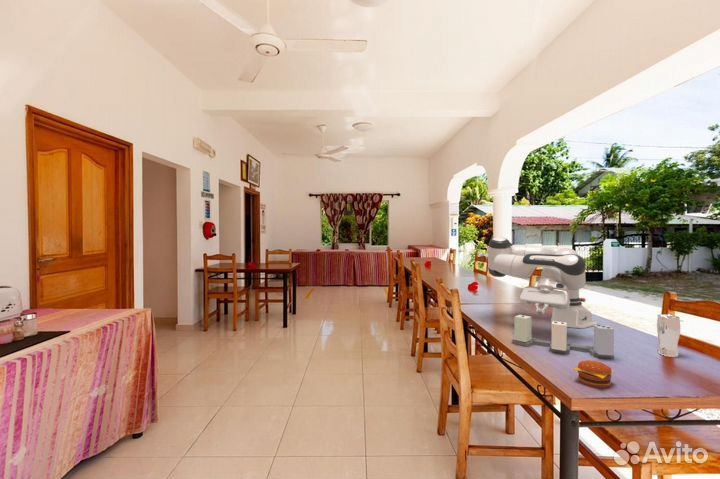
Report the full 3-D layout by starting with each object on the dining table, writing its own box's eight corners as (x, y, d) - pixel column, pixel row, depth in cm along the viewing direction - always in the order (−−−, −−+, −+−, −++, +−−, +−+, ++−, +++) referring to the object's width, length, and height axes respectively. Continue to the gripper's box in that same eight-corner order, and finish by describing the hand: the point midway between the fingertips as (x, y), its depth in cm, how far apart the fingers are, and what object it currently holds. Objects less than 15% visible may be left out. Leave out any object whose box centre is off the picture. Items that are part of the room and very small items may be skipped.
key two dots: (552, 345, 148) (552, 320, 148) (566, 347, 146) (566, 321, 145) (551, 348, 144) (551, 323, 144) (566, 350, 141) (566, 324, 141)
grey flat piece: (515, 338, 165) (515, 334, 165) (612, 351, 145) (612, 348, 145) (510, 345, 155) (510, 341, 155) (614, 360, 135) (614, 356, 135)
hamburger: (605, 391, 110) (605, 369, 110) (571, 381, 118) (571, 361, 118) (617, 383, 116) (617, 362, 116) (584, 374, 124) (584, 354, 123)
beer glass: (684, 358, 137) (685, 318, 137) (663, 357, 139) (663, 318, 138) (672, 352, 144) (673, 314, 144) (652, 351, 145) (653, 313, 145)
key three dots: (593, 350, 142) (593, 324, 142) (608, 351, 141) (608, 324, 140) (598, 354, 137) (598, 327, 137) (613, 355, 136) (613, 328, 135)
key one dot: (519, 337, 160) (519, 314, 160) (531, 339, 156) (531, 316, 156) (514, 339, 157) (514, 315, 156) (525, 342, 153) (525, 317, 152)
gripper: (522, 281, 172) (514, 305, 165) (570, 286, 158) (563, 312, 151) (526, 290, 175) (517, 313, 169) (573, 295, 161) (566, 321, 154)
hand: (539, 313), depth 160 cm, fingers closed
